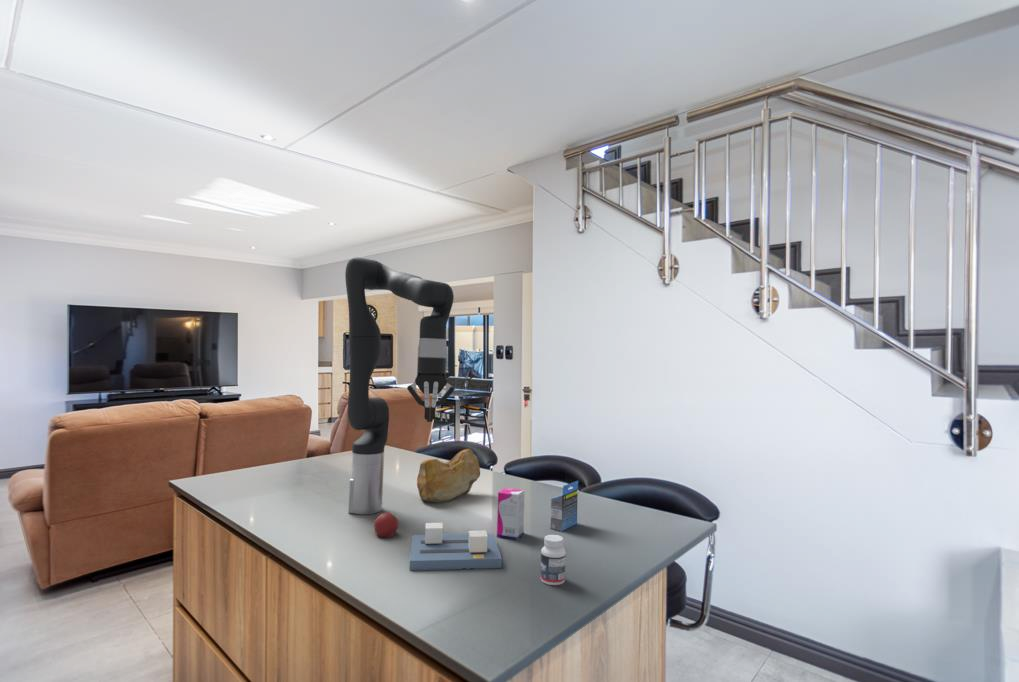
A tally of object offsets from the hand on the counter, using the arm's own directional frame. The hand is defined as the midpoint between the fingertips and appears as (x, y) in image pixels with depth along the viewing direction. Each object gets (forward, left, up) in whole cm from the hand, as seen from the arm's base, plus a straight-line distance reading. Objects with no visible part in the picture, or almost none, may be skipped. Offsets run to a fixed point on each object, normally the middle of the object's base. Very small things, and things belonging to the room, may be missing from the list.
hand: (429, 421), depth 136 cm
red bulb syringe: (-11, -2, -29) cm, 31 cm away
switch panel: (+7, -16, -29) cm, 34 cm away
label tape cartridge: (+38, +3, -29) cm, 48 cm away
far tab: (+2, -13, -27) cm, 30 cm away
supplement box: (+22, -3, -29) cm, 37 cm away
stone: (+5, +36, -29) cm, 47 cm away
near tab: (+12, -19, -27) cm, 35 cm away
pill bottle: (+27, -31, -29) cm, 50 cm away
